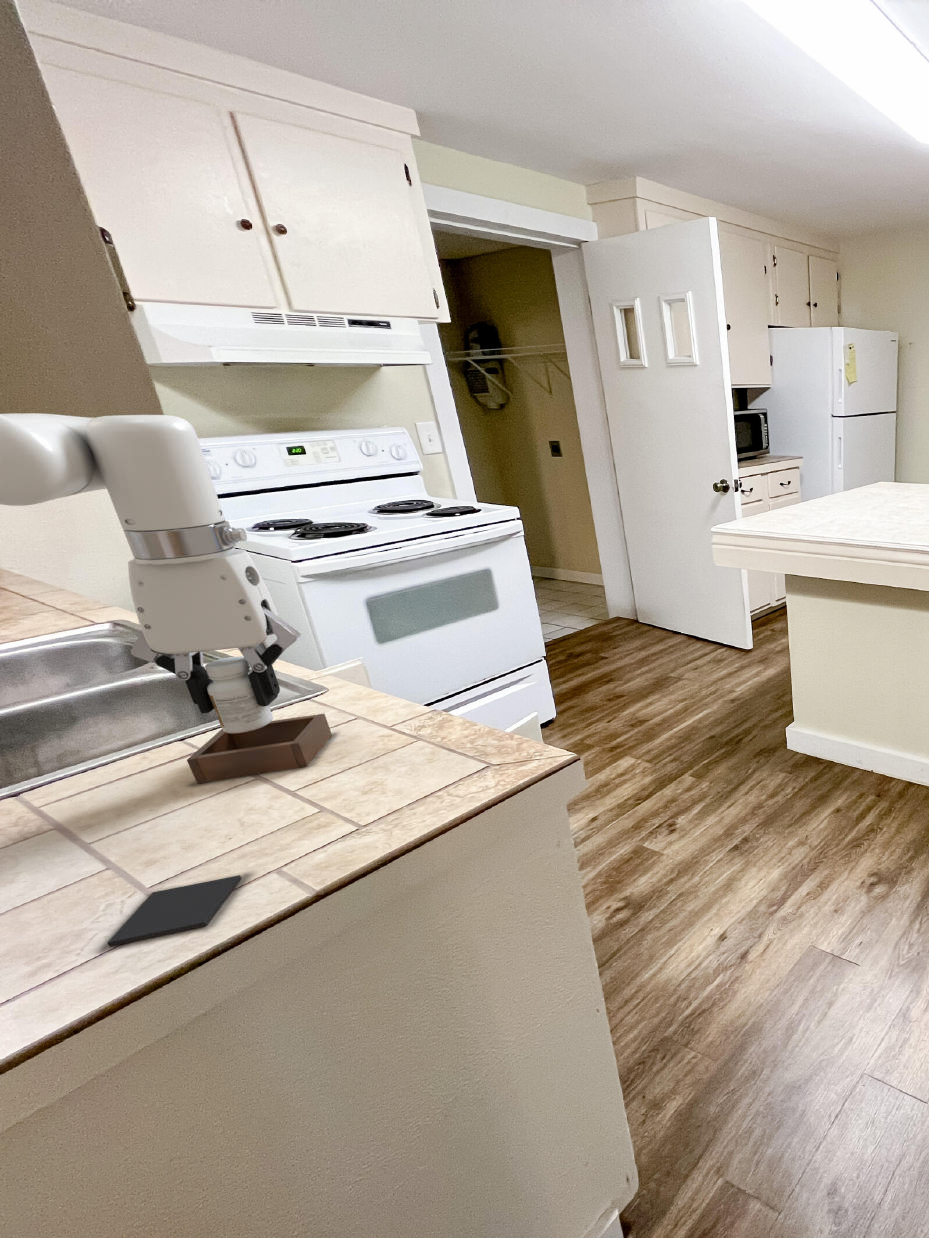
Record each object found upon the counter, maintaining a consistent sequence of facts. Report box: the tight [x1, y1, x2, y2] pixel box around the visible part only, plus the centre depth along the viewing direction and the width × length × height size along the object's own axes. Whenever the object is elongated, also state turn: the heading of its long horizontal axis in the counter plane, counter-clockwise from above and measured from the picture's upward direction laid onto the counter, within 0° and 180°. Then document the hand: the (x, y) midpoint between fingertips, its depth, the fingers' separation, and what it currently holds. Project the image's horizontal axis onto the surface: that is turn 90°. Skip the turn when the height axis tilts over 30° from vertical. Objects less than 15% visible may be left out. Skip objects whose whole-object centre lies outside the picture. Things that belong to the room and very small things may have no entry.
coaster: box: [106, 874, 242, 947], centre depth 56 cm, size 6×6×1 cm
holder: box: [186, 713, 333, 785], centre depth 79 cm, size 10×8×3 cm
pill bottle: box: [204, 656, 274, 733], centre depth 76 cm, size 4×4×8 cm
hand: (240, 703), depth 76 cm, fingers closed on pill bottle, 4 cm apart
